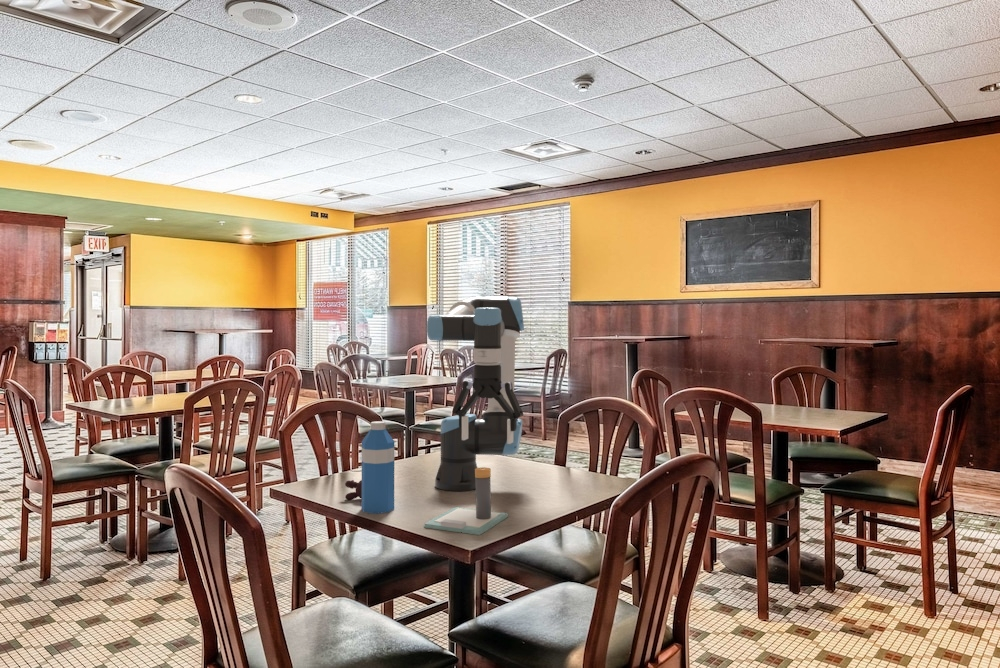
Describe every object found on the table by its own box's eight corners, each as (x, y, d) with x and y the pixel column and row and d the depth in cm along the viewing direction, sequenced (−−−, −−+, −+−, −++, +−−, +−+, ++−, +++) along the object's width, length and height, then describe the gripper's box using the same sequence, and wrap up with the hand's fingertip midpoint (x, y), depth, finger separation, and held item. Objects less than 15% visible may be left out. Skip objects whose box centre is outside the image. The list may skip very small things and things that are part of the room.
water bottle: (396, 505, 200) (396, 420, 199) (392, 513, 190) (392, 424, 190) (364, 505, 199) (364, 420, 199) (358, 513, 190) (358, 424, 190)
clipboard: (455, 510, 194) (455, 502, 194) (507, 516, 187) (507, 508, 187) (424, 527, 177) (424, 519, 177) (479, 535, 171) (479, 526, 171)
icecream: (396, 476, 210) (348, 479, 211) (390, 475, 202) (341, 478, 203) (396, 499, 208) (349, 502, 209) (390, 498, 201) (341, 502, 202)
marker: (479, 514, 185) (478, 467, 185) (493, 516, 184) (493, 468, 183) (473, 518, 181) (472, 470, 181) (487, 520, 180) (486, 471, 180)
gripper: (440, 363, 187) (440, 440, 188) (525, 366, 178) (524, 447, 178) (452, 361, 194) (452, 435, 195) (535, 364, 184) (534, 442, 185)
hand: (487, 441), depth 186 cm, fingers open, 13 cm apart
